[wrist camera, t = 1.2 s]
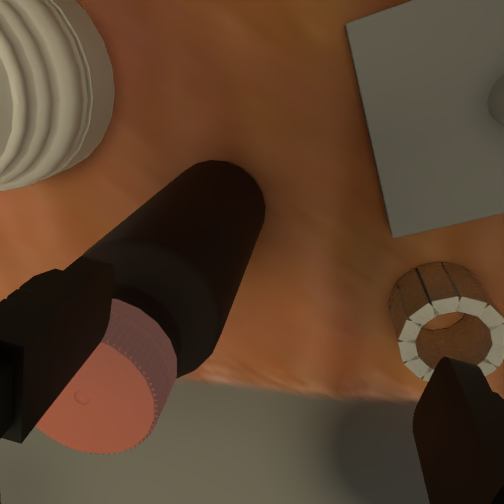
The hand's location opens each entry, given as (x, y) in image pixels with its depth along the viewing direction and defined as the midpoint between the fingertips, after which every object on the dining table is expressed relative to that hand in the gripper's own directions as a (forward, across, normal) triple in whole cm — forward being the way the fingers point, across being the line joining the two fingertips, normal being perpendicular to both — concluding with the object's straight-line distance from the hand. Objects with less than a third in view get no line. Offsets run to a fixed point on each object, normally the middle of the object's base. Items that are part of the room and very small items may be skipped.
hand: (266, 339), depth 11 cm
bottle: (+22, +5, +5) cm, 23 cm away
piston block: (+21, -10, -7) cm, 25 cm away
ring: (+21, -12, +8) cm, 25 cm away
